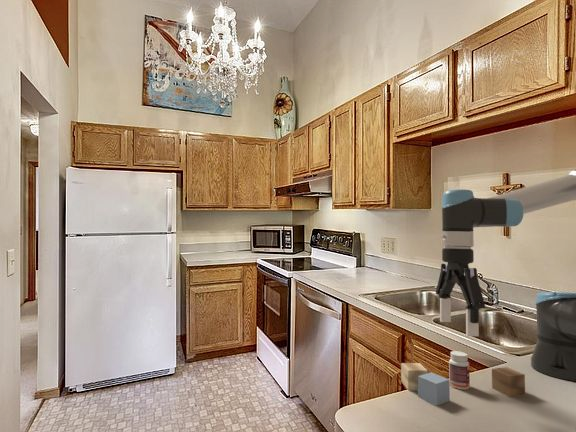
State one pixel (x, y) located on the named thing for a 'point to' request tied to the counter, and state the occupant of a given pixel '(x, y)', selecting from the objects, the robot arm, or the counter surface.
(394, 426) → the counter surface
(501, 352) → the counter surface
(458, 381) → the pill bottle
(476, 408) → the counter surface
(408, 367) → the maple cube
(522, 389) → the walnut cube
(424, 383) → the slate blue cube
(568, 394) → the counter surface
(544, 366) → the robot arm
